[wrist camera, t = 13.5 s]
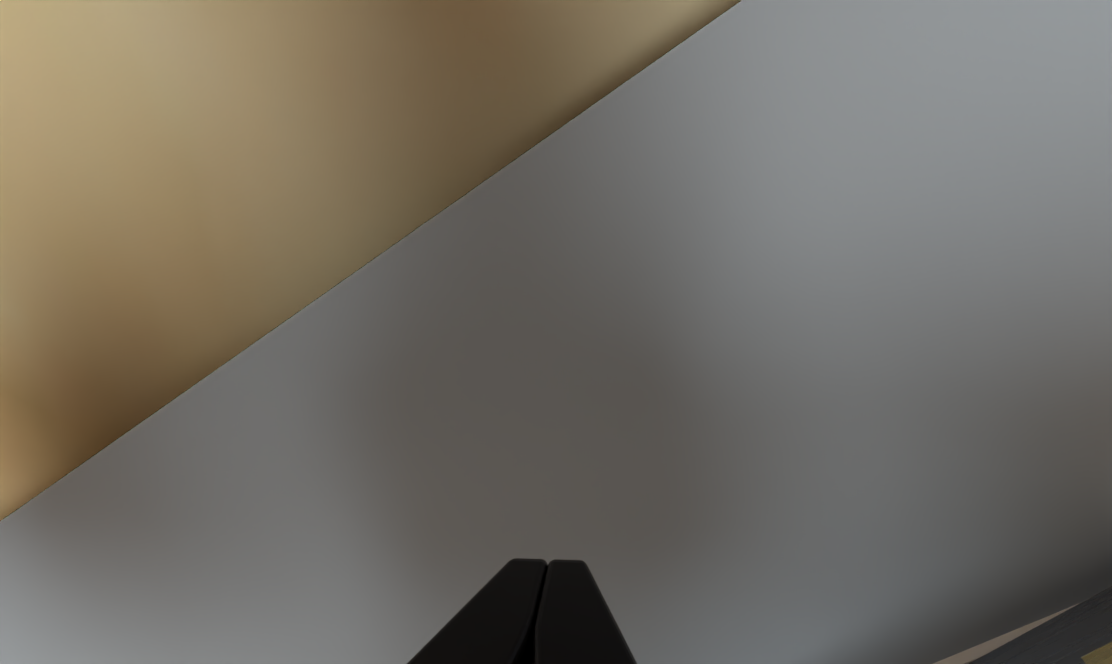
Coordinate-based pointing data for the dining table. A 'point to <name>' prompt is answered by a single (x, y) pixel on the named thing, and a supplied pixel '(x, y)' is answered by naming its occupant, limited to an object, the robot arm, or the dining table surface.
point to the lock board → (665, 378)
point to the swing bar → (1063, 637)
